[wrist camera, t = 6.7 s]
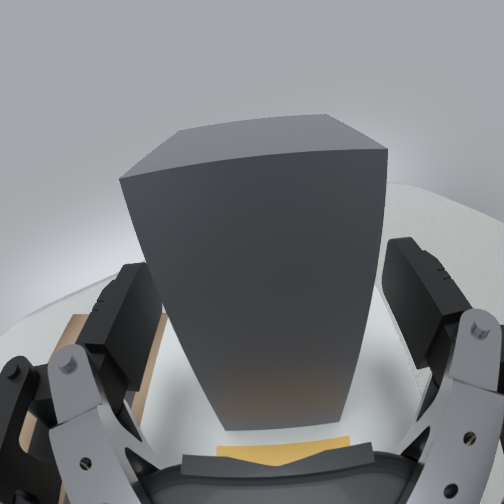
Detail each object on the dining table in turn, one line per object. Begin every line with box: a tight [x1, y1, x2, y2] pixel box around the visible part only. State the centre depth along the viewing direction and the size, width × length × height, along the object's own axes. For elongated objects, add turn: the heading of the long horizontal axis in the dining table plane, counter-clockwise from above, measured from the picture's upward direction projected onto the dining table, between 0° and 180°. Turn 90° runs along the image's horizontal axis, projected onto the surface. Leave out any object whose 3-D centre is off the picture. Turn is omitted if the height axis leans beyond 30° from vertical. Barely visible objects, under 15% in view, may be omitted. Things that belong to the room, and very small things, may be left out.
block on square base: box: [119, 114, 422, 468], centre depth 10 cm, size 12×12×13 cm
